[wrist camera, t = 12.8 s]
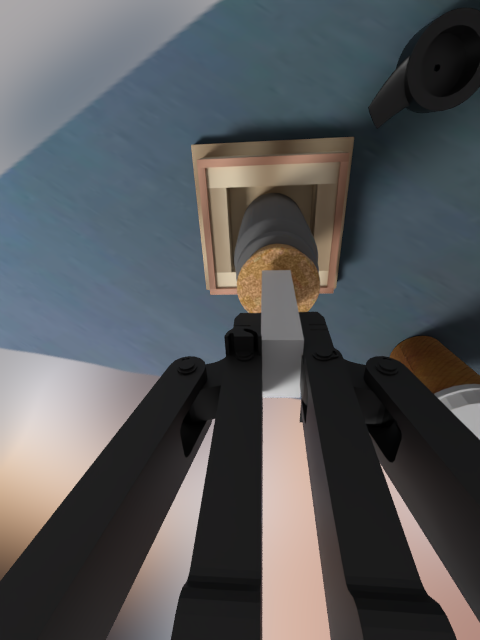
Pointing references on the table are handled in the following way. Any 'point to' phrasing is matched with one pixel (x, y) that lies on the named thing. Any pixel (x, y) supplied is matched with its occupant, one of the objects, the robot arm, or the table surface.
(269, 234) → the bottle
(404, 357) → the disposable coffee cup
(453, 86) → the dark winged oval cup
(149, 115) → the table surface
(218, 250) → the holder block
